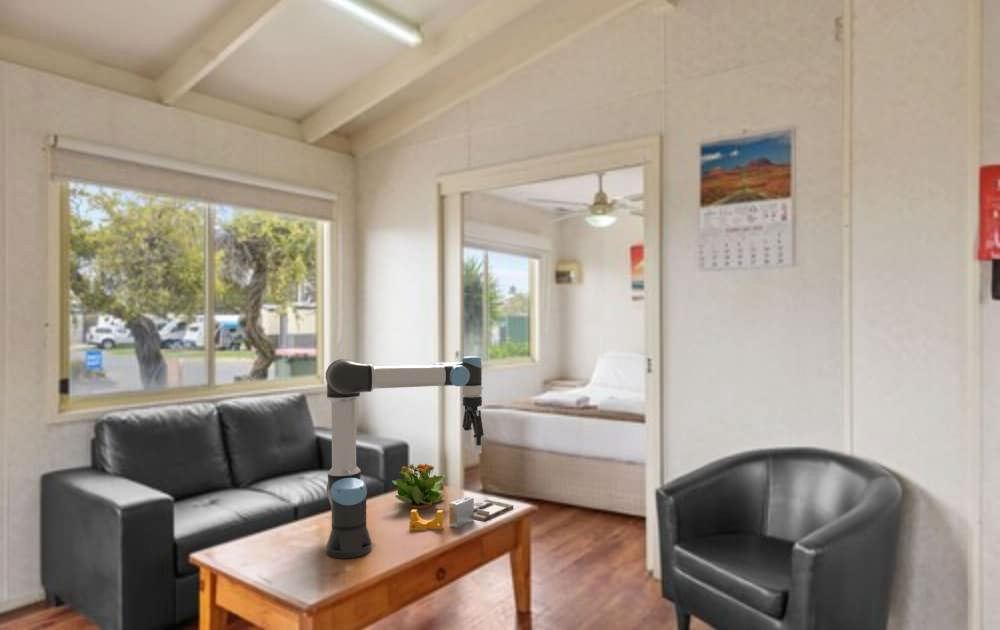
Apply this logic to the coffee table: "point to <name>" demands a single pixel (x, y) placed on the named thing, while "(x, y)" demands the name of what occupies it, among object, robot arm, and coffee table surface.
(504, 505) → the leaf seat
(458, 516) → the leaf block
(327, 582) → the coffee table surface
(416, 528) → the pipe clamp
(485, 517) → the hinge board
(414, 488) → the potted flower
